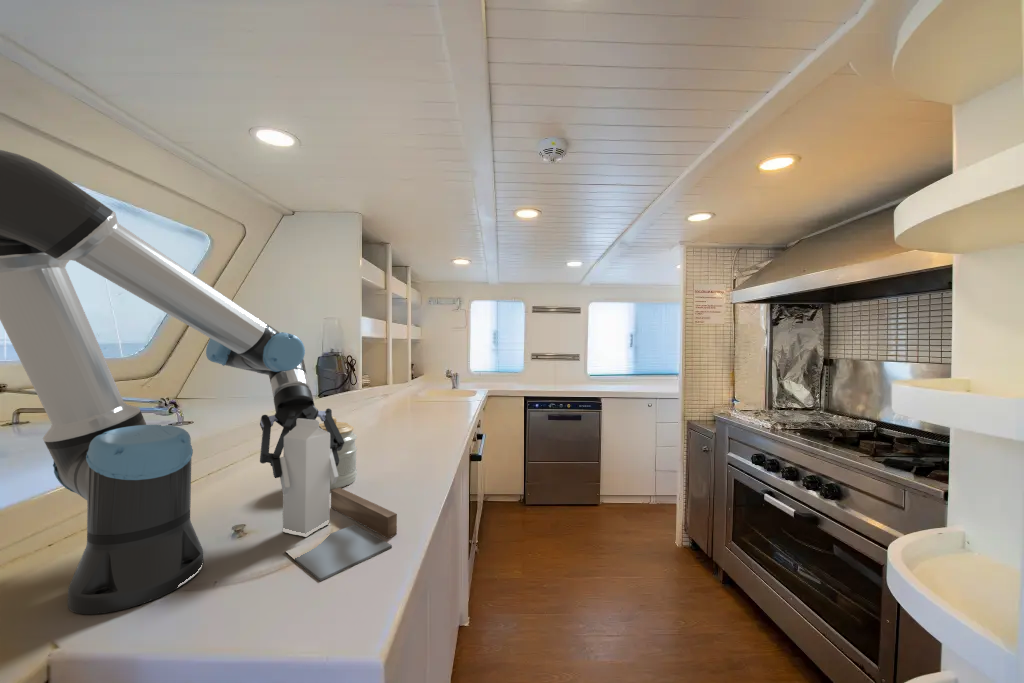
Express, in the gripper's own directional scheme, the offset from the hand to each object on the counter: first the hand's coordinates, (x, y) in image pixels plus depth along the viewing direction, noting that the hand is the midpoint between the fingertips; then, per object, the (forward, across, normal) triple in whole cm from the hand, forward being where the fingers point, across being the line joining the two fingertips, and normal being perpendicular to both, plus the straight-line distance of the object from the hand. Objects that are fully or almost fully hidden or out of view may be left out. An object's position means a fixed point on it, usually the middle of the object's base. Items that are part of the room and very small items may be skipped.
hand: (311, 485), depth 76 cm
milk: (+5, 0, -9) cm, 10 cm away
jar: (-13, -12, -27) cm, 32 cm away
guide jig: (+9, -3, -5) cm, 10 cm away
